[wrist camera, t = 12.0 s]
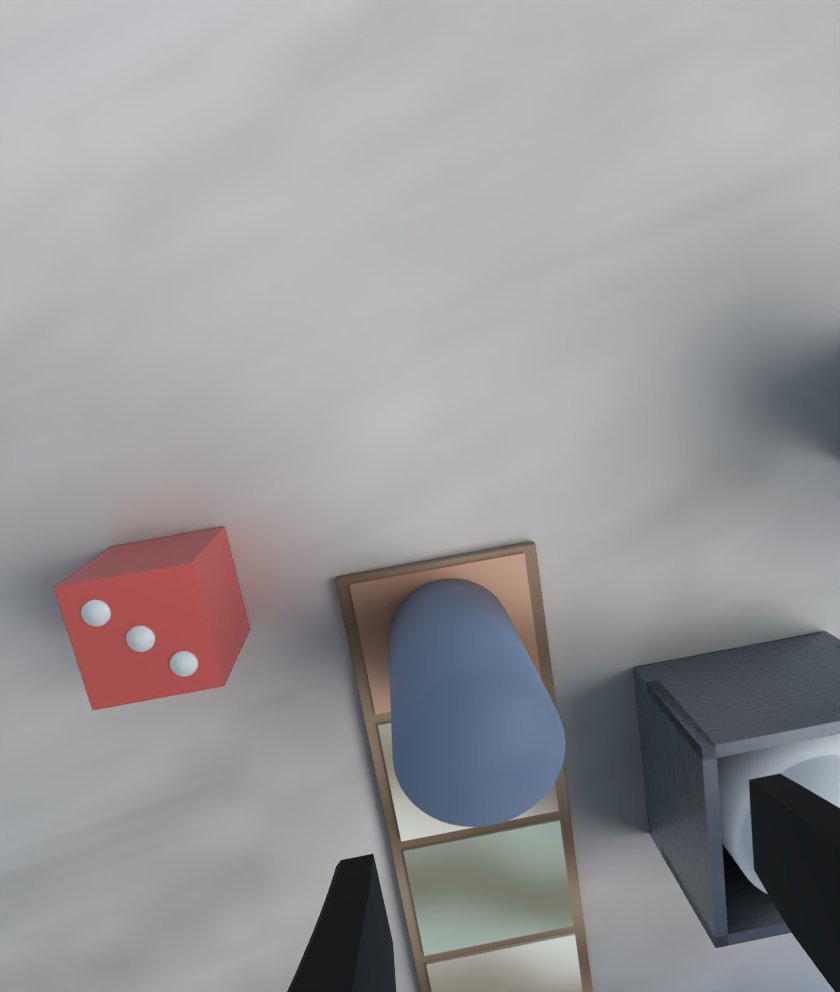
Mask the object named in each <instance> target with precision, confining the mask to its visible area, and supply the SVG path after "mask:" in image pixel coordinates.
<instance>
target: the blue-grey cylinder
mask: <svg viewBox="0 0 840 992" xmlns="http://www.w3.org/2000/svg"><path fill="white" fill-rule="evenodd" d="M388 653H389V679H390V706H391V732H392V758H393V766H394V771H395V775H396V778H397V781H398V783H399V785H400V787H401V789H402V790H403V792H404V793H405V795H406V796H407V797H408V799H409V800H410V801H411V802H412V803H413V804H414V805H415V806H416V807H418V808H419V809H420V810H421V811H422V812H424V813H426V814H427V815H429V816H431V817H433V818H435V819H437V820H439V821H442V822H445V823H448V824H451V825H457V826H464V827H484V826H490V825H495V824H499V823H502V822H506V821H508V820H511V819H513V818H516V817H517V816H519V815H521V814H523V813H525V812H526V811H528V810H529V809H530V808H532V807H533V806H535V805H536V804H537V803H538V802H539V801H540V800H541V799H542V798H543V797H544V796H545V795H546V794H547V793H548V791H549V790H550V789H551V787H552V786H553V784H554V783H555V781H556V779H557V777H558V775H559V773H560V771H561V768H562V765H563V762H564V756H565V747H566V740H565V732H564V727H563V723H562V721H561V718H560V716H559V714H558V712H557V710H556V708H555V706H554V704H553V702H552V700H551V698H550V696H549V694H548V692H547V690H546V688H545V686H544V684H543V682H542V680H541V678H540V676H539V674H538V672H537V670H536V668H535V666H534V665H533V663H532V661H531V659H530V657H529V655H528V653H527V651H526V649H525V647H524V645H523V643H522V641H521V639H520V637H519V635H518V633H517V631H516V629H515V627H514V625H513V623H512V621H511V619H510V617H509V616H508V614H507V612H506V610H505V608H504V606H503V605H502V603H501V602H500V601H499V599H498V598H497V597H496V596H495V595H494V594H493V593H492V592H491V591H489V590H488V589H486V588H485V587H483V586H481V585H479V584H477V583H474V582H472V581H468V580H464V579H455V578H454V579H441V580H436V581H433V582H429V583H427V584H425V585H422V586H421V587H419V588H417V589H415V590H414V591H413V592H411V593H410V594H409V595H408V596H407V597H406V598H405V599H404V600H403V601H402V602H401V603H400V605H399V606H398V607H397V609H396V611H395V612H394V614H393V617H392V619H391V622H390V626H389V631H388Z"/></svg>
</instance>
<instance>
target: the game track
mask: <svg viewBox="0 0 840 992" xmlns="http://www.w3.org/2000/svg"><path fill="white" fill-rule="evenodd" d="M454 578H455V579H464V580H468V581H472V582H474V583H477V584H479V585H481V586H483V587H485V588H486V589H488V590H489V591H491V592H492V593H493V594H494V595H495V596H496V597H497V598H498V599H499V601H500V602H501V603H502V605H503V606H504V608H505V610H506V612H507V614H508V616H509V617H510V619H511V621H512V623H513V625H514V627H515V629H516V631H517V633H518V635H519V637H520V639H521V641H522V643H523V645H524V647H525V649H526V651H527V653H528V655H529V657H530V659H531V661H532V663H533V665H534V666H535V668H536V670H537V672H538V674H539V676H540V678H541V680H542V682H543V684H544V686H545V688H546V690H547V692H548V694H549V696H550V698H551V700H552V702H553V704H554V706H555V708H556V702H555V694H554V686H553V678H552V670H551V662H550V655H549V647H548V639H547V631H546V623H545V616H544V608H543V600H542V592H541V584H540V576H539V569H538V561H537V553H536V545H535V543H534V542H527V543H521V544H516V545H510V546H505V547H499V548H494V549H488V550H483V551H477V552H472V553H466V554H460V555H455V556H449V557H444V558H438V559H433V560H427V561H422V562H416V563H411V564H405V565H399V566H394V567H388V568H383V569H377V570H372V571H366V572H361V573H355V574H349V575H344V576H338V577H336V584H337V589H338V594H339V599H340V604H341V608H342V613H343V618H344V623H345V628H346V632H347V637H348V642H349V647H350V652H351V657H352V661H353V666H354V671H355V676H356V681H357V686H358V690H359V695H360V700H361V705H362V710H363V715H364V719H365V724H366V729H367V734H368V739H369V744H370V748H371V753H372V758H373V763H374V768H375V773H376V777H377V782H378V787H379V792H380V797H381V802H382V806H383V811H384V816H385V821H386V826H387V831H388V835H389V840H390V845H391V850H392V855H393V860H394V864H395V869H396V874H397V879H398V884H399V889H400V893H401V898H402V903H403V908H404V913H405V918H406V922H407V927H408V932H409V937H410V942H411V947H412V951H413V956H414V961H415V966H416V971H417V975H418V980H419V985H420V990H421V992H593V991H592V983H591V975H590V967H589V960H588V952H587V944H586V936H585V928H584V920H583V913H582V905H581V897H580V889H579V881H578V874H577V866H576V858H575V850H574V842H573V834H572V827H571V819H570V811H569V803H568V795H567V788H566V780H565V772H564V764H563V765H562V768H561V771H560V773H559V775H558V777H557V779H556V781H555V783H554V784H553V786H552V787H551V789H550V790H549V791H548V793H547V794H546V795H545V796H544V797H543V798H542V799H541V800H540V801H539V802H538V803H537V804H536V805H535V806H533V807H532V808H530V809H529V810H528V811H526V812H525V813H523V814H521V815H519V816H517V817H516V818H513V819H511V820H508V821H506V822H502V823H499V824H495V825H490V826H484V827H464V826H457V825H451V824H448V823H445V822H442V821H439V820H437V819H435V818H433V817H431V816H429V815H427V814H426V813H424V812H422V811H421V810H420V809H419V808H418V807H416V806H415V805H414V804H413V803H412V802H411V801H410V800H409V799H408V797H407V796H406V795H405V793H404V792H403V790H402V789H401V787H400V785H399V783H398V781H397V778H396V775H395V771H394V766H393V758H392V732H391V706H390V679H389V653H388V631H389V626H390V622H391V619H392V617H393V614H394V612H395V611H396V609H397V607H398V606H399V605H400V603H401V602H402V601H403V600H404V599H405V598H406V597H407V596H408V595H409V594H410V593H411V592H413V591H414V590H415V589H417V588H419V587H421V586H422V585H425V584H427V583H429V582H433V581H436V580H441V579H454ZM556 710H557V709H556Z"/></svg>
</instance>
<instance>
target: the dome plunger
mask: <svg viewBox="0 0 840 992" xmlns="http://www.w3.org/2000/svg"><path fill="white" fill-rule="evenodd" d="M717 769H718V785H719V801H720V816H721V832H722V844H723V845H724V846H725V848H726V849H727V851H728V852H729V853H730V855H731V856H732V857H733V859H734V860H735V862H736V863H737V864H738V866H739V867H740V869H741V870H742V871H743V873H744V874H745V876H746V877H747V878H748V880H749V881H750V882H751V883H752V884H753V885H754V886H756V887H757V888H759V889H760V890H761V891H763V892H765V893H767V892H766V890H765V888H764V886H763V885H762V883H761V881H760V879H759V878H758V876H757V874H756V872H755V871H754V863H753V845H752V828H751V810H750V793H749V780H750V779H755V778H760V777H765V776H770V775H775V774H782V775H784V776H785V777H787V778H789V779H791V780H793V781H794V782H796V783H798V784H800V785H801V786H803V787H805V788H806V789H808V790H810V791H812V792H813V793H815V794H817V795H818V796H820V797H822V798H823V799H825V800H827V801H828V802H830V803H832V804H834V805H835V806H837V807H839V808H840V734H837V735H832V736H827V737H821V738H816V739H811V740H806V741H801V742H796V743H791V744H785V745H780V746H775V747H770V748H765V749H760V750H754V751H749V752H744V753H739V754H734V755H729V756H724V757H718V758H717ZM767 894H768V893H767Z"/></svg>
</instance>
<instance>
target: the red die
mask: <svg viewBox="0 0 840 992" xmlns="http://www.w3.org/2000/svg"><path fill="white" fill-rule="evenodd" d="M54 591H55V594H56V597H57V600H58V603H59V606H60V610H61V613H62V616H63V619H64V622H65V625H66V629H67V632H68V635H69V638H70V641H71V644H72V647H73V651H74V654H75V657H76V660H77V663H78V666H79V670H80V673H81V676H82V679H83V682H84V685H85V688H86V692H87V695H88V698H89V701H90V704H91V707H92V710H97V709H103V708H108V707H113V706H119V705H124V704H130V703H135V702H140V701H146V700H151V699H157V698H162V697H167V696H173V695H178V694H184V693H189V692H194V691H200V690H205V689H211V688H216V687H221V686H224V685H225V683H226V681H227V679H228V676H229V674H230V672H231V670H232V668H233V666H234V663H235V661H236V659H237V657H238V655H239V653H240V650H241V648H242V646H243V644H244V642H245V639H246V637H247V635H248V633H249V631H250V629H249V625H248V621H247V617H246V613H245V608H244V604H243V600H242V596H241V592H240V588H239V584H238V580H237V576H236V572H235V568H234V564H233V559H232V555H231V551H230V547H229V543H228V539H227V535H226V531H225V527H219V528H213V529H208V530H202V531H196V532H191V533H185V534H179V535H174V536H168V537H162V538H157V539H151V540H145V541H140V542H134V543H128V544H123V545H117V546H111V547H110V548H108V549H107V550H105V551H104V552H103V553H101V554H100V555H98V556H97V557H96V558H94V559H93V560H91V561H90V562H89V563H87V564H86V565H84V566H83V567H82V568H80V569H79V570H77V571H76V572H75V573H73V574H72V575H70V576H69V577H68V578H66V579H65V580H63V581H62V582H61V583H59V584H58V585H56V586H55V587H54Z"/></svg>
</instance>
